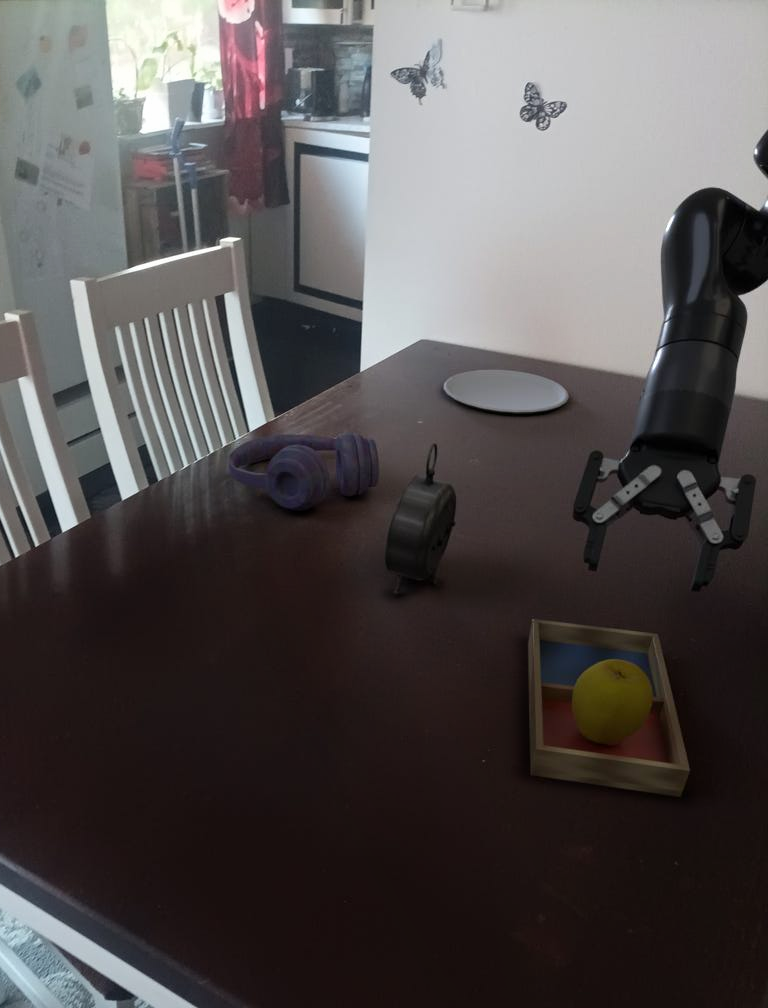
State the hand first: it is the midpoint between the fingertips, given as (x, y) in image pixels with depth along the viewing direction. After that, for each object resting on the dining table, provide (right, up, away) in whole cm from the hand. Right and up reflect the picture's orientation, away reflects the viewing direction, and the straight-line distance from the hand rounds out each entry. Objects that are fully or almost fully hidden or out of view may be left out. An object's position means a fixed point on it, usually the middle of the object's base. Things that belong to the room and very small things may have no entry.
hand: (643, 578), depth 78 cm
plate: (+6, +36, +75) cm, 83 cm away
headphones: (-29, +16, +45) cm, 56 cm away
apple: (-3, -14, 0) cm, 14 cm away
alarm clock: (-16, +1, +24) cm, 29 cm away
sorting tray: (-2, -12, +5) cm, 13 cm away
